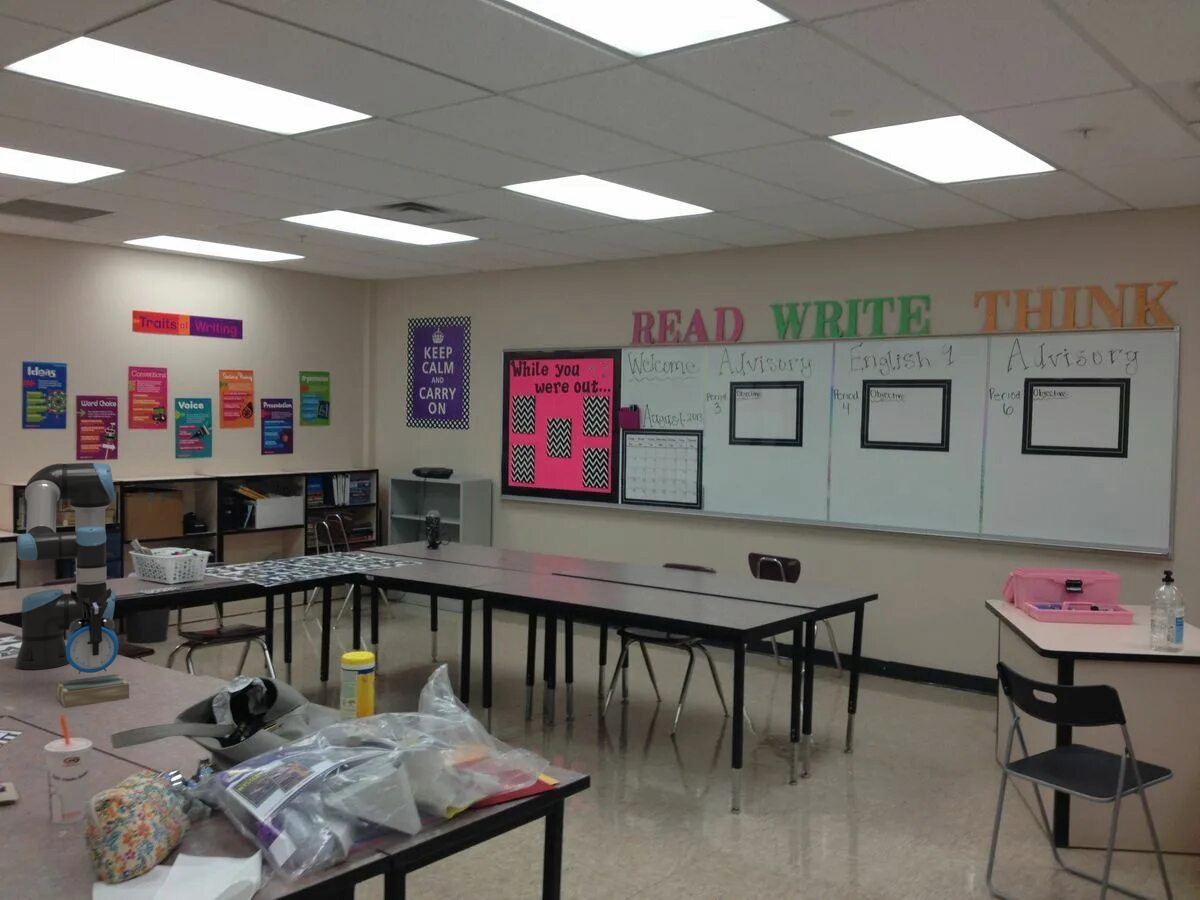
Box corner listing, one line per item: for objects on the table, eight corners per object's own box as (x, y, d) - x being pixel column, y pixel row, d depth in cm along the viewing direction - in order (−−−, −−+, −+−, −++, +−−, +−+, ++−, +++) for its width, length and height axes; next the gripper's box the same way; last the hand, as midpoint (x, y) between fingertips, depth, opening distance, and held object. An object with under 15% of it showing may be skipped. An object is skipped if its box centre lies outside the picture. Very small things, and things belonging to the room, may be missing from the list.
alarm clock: (65, 676, 280) (65, 621, 280) (66, 671, 286) (65, 618, 286) (118, 671, 286) (118, 617, 286) (118, 666, 292) (117, 614, 291)
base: (56, 696, 287) (56, 681, 287) (118, 687, 297) (118, 673, 296) (65, 707, 276) (65, 691, 276) (129, 698, 285) (128, 682, 285)
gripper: (70, 579, 291) (71, 659, 292) (83, 587, 275) (84, 672, 276) (99, 577, 296) (100, 656, 296) (113, 585, 280) (114, 668, 280)
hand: (92, 664), depth 286 cm, fingers closed on alarm clock, 7 cm apart
